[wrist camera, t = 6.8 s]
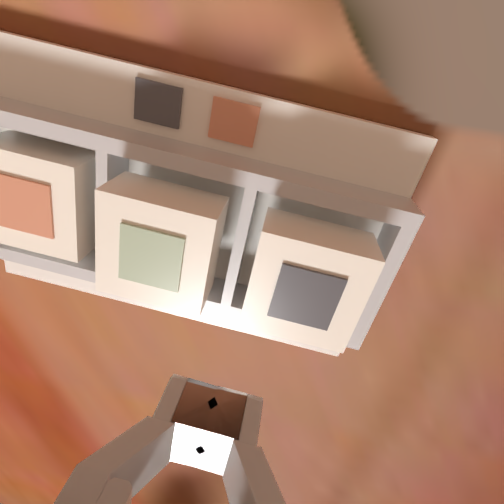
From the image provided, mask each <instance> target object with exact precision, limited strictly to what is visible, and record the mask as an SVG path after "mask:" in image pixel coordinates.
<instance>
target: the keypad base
mask: <svg viewBox="0 0 504 504" xmlns="http://www.w3.org/2000/svg"><path fill="white" fill-rule="evenodd" d="M7 130H12V131H16V132H20V133H24V134H28V135H32V136H36V137H40V138H44V139H48V140H52V141H56V142H60V143H64V144H68V145H72V146H76V147H80V148H84V149H88V150H92V151H95V158H96V188H98V187H99V186H101V185H103V184H104V183H106V182H108V181H109V180H111V179H113V178H114V177H116V176H118V175H119V174H121V173H123V172H124V171H127V172H131V173H135V174H139V175H143V176H147V177H151V178H155V179H159V180H163V181H167V182H171V183H175V184H179V185H183V186H187V187H191V188H195V189H199V190H203V191H207V192H211V193H215V194H219V195H223V196H227V197H230V199H229V204H228V209H227V214H226V220H225V225H224V230H223V235H222V240H221V246H220V251H219V256H218V261H217V266H216V272H215V277H214V282H213V286H212V288H211V291H210V293H209V295H208V298H207V300H206V303H205V305H204V308H203V310H202V312H201V315H200V317H199V316H195V315H191V314H187V313H183V312H179V311H175V310H171V309H167V308H163V307H160V306H156V305H152V304H148V303H144V302H140V301H136V300H132V299H128V298H124V297H120V296H117V295H113V294H109V293H105V292H101V291H97V290H96V287H95V248H94V249H93V250H92V251H91V252H90V253H89V254H87V255H86V256H85V257H84V258H83V259H82V260H81V261H79V262H78V263H75V262H71V261H67V260H64V259H60V258H56V257H52V256H48V255H44V254H40V253H36V252H32V251H28V250H24V249H20V248H16V247H12V246H9V245H5V244H1V243H0V259H3V260H4V262H5V268H6V272H9V273H13V274H17V275H21V276H25V277H29V278H33V279H37V280H41V281H44V282H48V283H52V284H56V285H60V286H64V287H68V288H72V289H76V290H80V291H84V292H87V293H91V294H95V295H99V296H103V297H107V298H111V299H115V300H119V301H123V302H127V303H130V304H134V305H138V306H142V307H146V308H150V309H154V310H158V311H162V312H166V313H170V314H174V315H177V316H181V317H185V318H189V319H193V320H197V321H201V322H205V323H209V324H213V325H217V326H220V327H224V328H228V329H232V330H236V331H240V332H244V333H248V334H252V335H256V336H260V337H264V338H267V339H271V340H275V341H279V342H283V343H287V344H291V345H295V346H299V347H303V348H307V349H310V350H314V351H318V352H322V353H326V354H330V355H334V356H339V353H340V352H336V351H332V350H328V349H324V348H320V347H316V346H312V345H308V344H304V343H301V342H297V341H293V340H289V339H285V338H281V337H277V336H273V335H269V334H265V333H261V332H257V331H254V330H250V329H246V328H242V327H238V324H239V320H240V316H241V312H242V308H243V304H244V300H245V296H246V292H247V288H248V284H249V280H250V276H251V272H252V268H253V264H254V260H255V256H256V252H257V248H258V244H259V240H260V236H261V232H262V228H263V224H264V221H265V217H266V213H267V209H268V207H271V208H275V209H279V210H283V211H287V212H291V213H295V214H299V215H303V216H307V217H311V218H315V219H319V220H323V221H327V222H331V223H335V224H339V225H343V226H347V227H351V228H355V229H359V230H363V231H367V232H371V233H374V235H375V238H376V240H377V243H378V245H379V247H380V250H381V252H382V255H383V257H384V260H385V262H386V263H385V265H384V267H383V269H382V272H381V274H380V276H379V278H378V280H377V282H376V284H375V286H374V289H373V291H372V293H371V295H370V297H369V299H368V301H367V304H366V306H365V308H364V310H363V312H362V314H361V316H360V318H359V321H358V323H357V325H356V327H355V329H354V331H353V333H352V336H351V338H350V340H349V342H348V344H347V346H346V347H348V348H352V349H356V350H359V349H360V347H361V344H362V342H363V340H364V338H365V336H366V334H367V332H368V330H369V328H370V326H371V324H372V322H373V320H374V318H375V316H376V314H377V312H378V310H379V308H380V306H381V304H382V302H383V300H384V298H385V296H386V294H387V292H388V290H389V288H390V286H391V284H392V282H393V280H394V278H395V276H396V274H397V272H398V270H399V268H400V266H401V264H402V262H403V260H404V258H405V256H406V254H407V252H408V250H409V248H410V246H411V244H412V241H413V239H414V237H415V235H416V233H417V231H418V229H419V227H420V225H421V223H422V221H423V219H424V217H425V215H424V214H423V213H422V211H421V210H420V209H419V208H418V206H417V205H416V204H415V203H414V201H413V200H412V199H411V197H412V195H413V193H414V191H415V189H416V186H417V184H418V182H419V180H420V178H421V176H422V173H423V171H424V169H425V167H426V165H427V163H428V160H429V158H430V156H431V154H432V152H433V150H434V147H435V145H436V143H437V141H438V139H436V138H434V137H433V136H430V135H426V134H422V133H418V132H414V131H410V130H406V129H401V128H397V127H393V126H389V125H385V124H381V123H377V122H373V121H369V120H365V119H361V118H357V117H353V116H349V115H345V114H340V113H336V112H332V111H328V110H324V109H320V108H316V107H312V106H308V105H304V104H300V103H296V102H292V101H288V100H284V99H279V98H275V97H271V96H267V95H263V94H259V93H255V92H251V91H247V90H243V89H239V88H235V87H231V86H227V85H223V84H219V83H214V82H210V81H206V80H202V79H198V78H194V77H190V76H186V75H182V74H178V73H174V72H170V71H166V70H162V69H158V68H153V67H149V66H145V65H141V64H137V63H133V62H129V61H125V60H121V59H117V58H113V57H109V56H105V55H101V54H97V53H93V52H88V51H84V50H80V49H76V48H72V47H68V46H64V45H60V44H56V43H52V42H48V41H44V40H40V39H36V38H32V37H27V36H23V35H19V34H15V33H11V32H7V31H3V30H0V132H3V131H7Z"/></svg>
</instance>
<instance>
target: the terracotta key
mask: <svg viewBox="0 0 504 504" xmlns="http://www.w3.org/2000/svg"><path fill="white" fill-rule="evenodd" d="M95 189H96V158H95V151H92V150H88V149H84V148H80V147H76V146H72V145H68V144H64V143H60V142H56V141H52V140H48V139H44V138H40V137H36V136H32V135H28V134H24V133H20V132H16V131H12V130H7V131H3V132H0V243H1V244H5V245H9V246H12V247H16V248H20V249H24V250H28V251H32V252H36V253H40V254H44V255H48V256H52V257H56V258H60V259H64V260H67V261H71V262H75V263H78V262H79V261H81V260H82V259H83V258H84V257H85V256H86V255H87V254H89V253H90V252H91V251H92V250H93V249H94V248H95Z"/></svg>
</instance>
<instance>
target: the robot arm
mask: <svg viewBox="0 0 504 504" xmlns="http://www.w3.org/2000/svg"><path fill="white" fill-rule="evenodd" d="M262 406H263V398H261V397H257V396H254V395H250V394H247V393H244V392H240V391H236V390H232V389H228V388H224V387H220V386H214V385H211V384H208V383H204V382H201V381H198V380H194V379H191V378H187V377H184V376H180V375H177V374H173V375H172V376H171V378H170V380H169V382H168V384H167V386H166V388H165V391H164V393H163V395H162V397H161V399H160V402H159V404H158V406H157V408H156V410H155V412H154V415H153V417H150V416H147V417H146V418H144V419H143V420H141V421H140V422H138V423H137V424H135V425H134V426H132V427H131V428H130V429H128V430H127V431H125V432H124V433H122V434H121V435H119V436H118V437H116V438H115V439H114V440H112V441H111V442H109V443H108V444H106V445H105V446H103V447H102V448H100V449H99V450H97V451H96V452H95V453H93V454H92V455H90V456H89V457H87V458H86V459H84V460H83V461H81V462H80V463H79V464H77V465H76V467H75V469H74V470H73V472H72V474H71V475H70V477H69V479H68V481H67V482H66V484H65V486H64V487H63V489H62V491H61V492H60V494H59V496H58V497H57V499H56V501H55V502H54V504H131V500H132V497H134V496H135V495H136V494H137V493H138V492H139V491H140V490H141V489H142V488H143V487H144V486H145V485H146V484H147V483H148V482H149V481H150V480H151V479H152V478H154V477H155V476H156V475H157V474H158V473H159V472H160V471H161V470H162V469H163V468H164V467H165V466H166V465H167V464H168V463H169V461H171V462H175V463H180V464H184V465H188V466H192V467H196V468H199V469H202V470H205V471H209V472H212V473H215V474H218V475H222V476H223V481H224V485H225V489H226V493H227V497H228V500H229V504H286V503H285V501H284V498H283V496H282V494H281V491H280V489H279V487H278V484H277V482H276V480H275V477H274V475H273V473H272V470H271V468H270V466H269V464H268V461H267V459H266V457H265V454H264V452H263V450H262V447H259V446H257V441H258V434H259V427H260V420H261V413H262ZM0 504H3V503H0Z"/></svg>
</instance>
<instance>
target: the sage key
mask: <svg viewBox="0 0 504 504" xmlns="http://www.w3.org/2000/svg"><path fill="white" fill-rule="evenodd" d="M229 199H230V197H227V196H223V195H219V194H215V193H211V192H207V191H203V190H199V189H195V188H191V187H187V186H183V185H179V184H175V183H171V182H167V181H163V180H159V179H155V178H151V177H147V176H143V175H139V174H135V173H131V172H127V171H124V172H123V173H121V174H119V175H118V176H116V177H114V178H113V179H111V180H109V181H108V182H106V183H104V184H103V185H101V186H99V187H98V188H96V189H95V287H96V290H97V291H101V292H105V293H109V294H113V295H117V296H120V297H124V298H128V299H132V300H136V301H140V302H144V303H148V304H152V305H156V306H160V307H163V308H167V309H171V310H175V311H179V312H183V313H187V314H191V315H195V316H199V317H200V315H201V312H202V310H203V308H204V305H205V303H206V300H207V298H208V295H209V293H210V291H211V288H212V286H213V282H214V277H215V272H216V266H217V261H218V256H219V251H220V246H221V240H222V235H223V230H224V225H225V220H226V214H227V209H228V204H229Z"/></svg>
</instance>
